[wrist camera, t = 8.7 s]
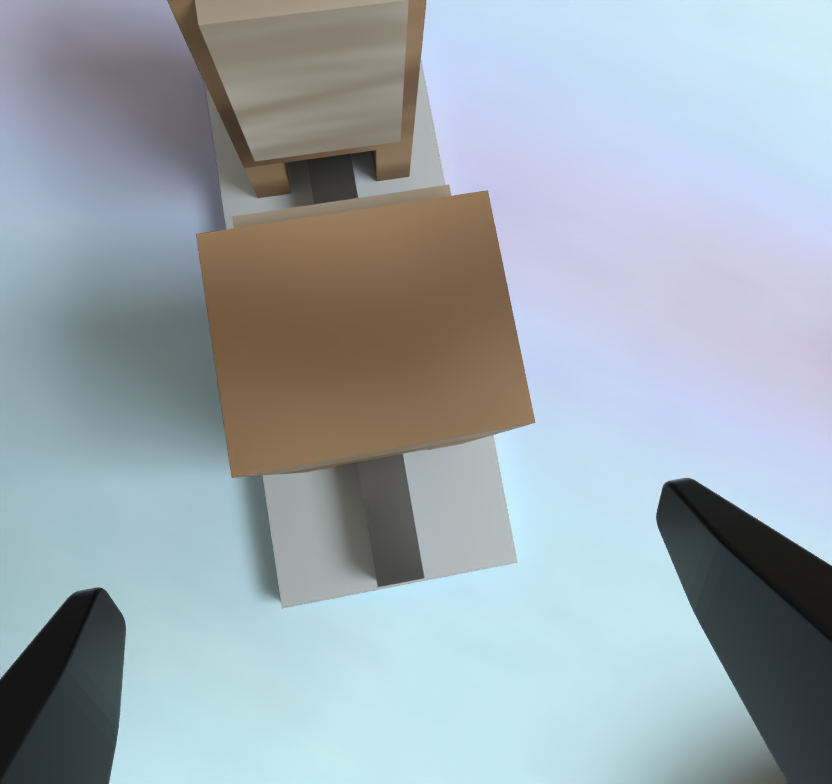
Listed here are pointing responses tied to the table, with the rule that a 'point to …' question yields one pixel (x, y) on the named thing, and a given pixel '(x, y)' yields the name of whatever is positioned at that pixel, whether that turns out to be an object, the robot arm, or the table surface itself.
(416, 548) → the rail
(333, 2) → the fitted finger
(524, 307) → the table surface
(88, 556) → the table surface
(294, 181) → the base board
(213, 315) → the notched wooden block
